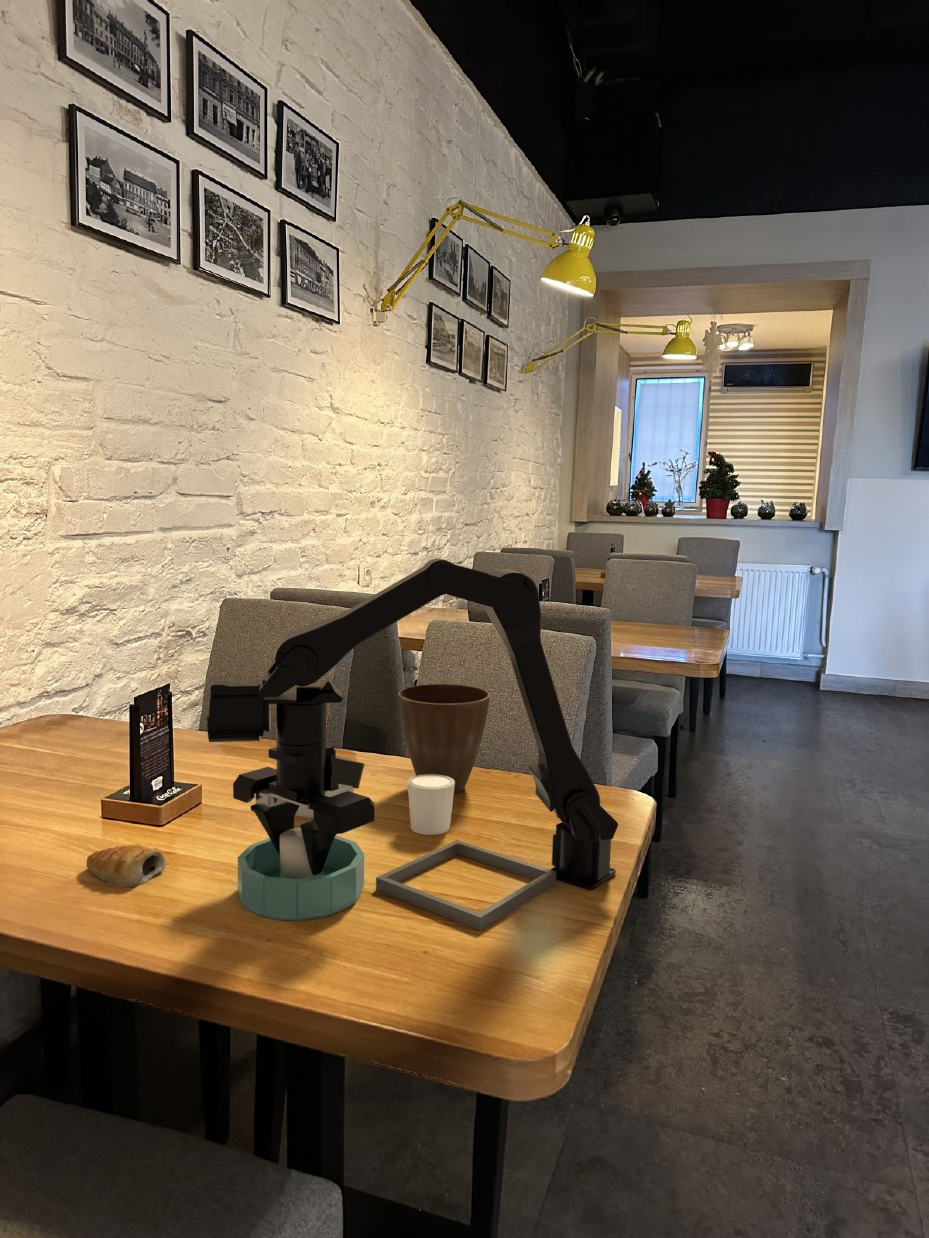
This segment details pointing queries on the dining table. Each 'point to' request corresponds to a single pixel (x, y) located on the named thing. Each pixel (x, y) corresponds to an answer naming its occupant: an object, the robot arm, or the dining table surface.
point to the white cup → (430, 803)
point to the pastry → (126, 864)
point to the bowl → (300, 883)
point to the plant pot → (444, 728)
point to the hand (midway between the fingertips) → (302, 868)
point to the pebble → (294, 856)
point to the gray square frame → (456, 912)
